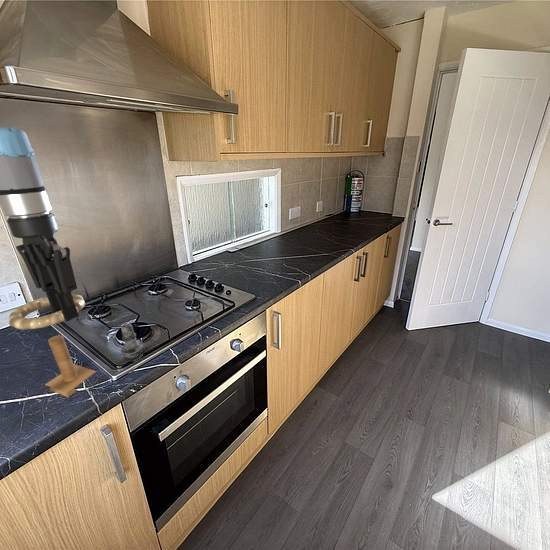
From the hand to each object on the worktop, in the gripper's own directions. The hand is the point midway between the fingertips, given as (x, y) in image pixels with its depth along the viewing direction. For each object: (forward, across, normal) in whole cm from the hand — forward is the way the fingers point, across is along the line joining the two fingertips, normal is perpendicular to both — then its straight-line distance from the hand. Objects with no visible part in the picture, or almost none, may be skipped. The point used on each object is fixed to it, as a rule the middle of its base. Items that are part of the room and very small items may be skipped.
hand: (67, 316), depth 67 cm
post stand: (+20, +5, +1) cm, 21 cm away
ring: (-1, +6, 0) cm, 6 cm away
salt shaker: (+20, -3, -12) cm, 23 cm away
